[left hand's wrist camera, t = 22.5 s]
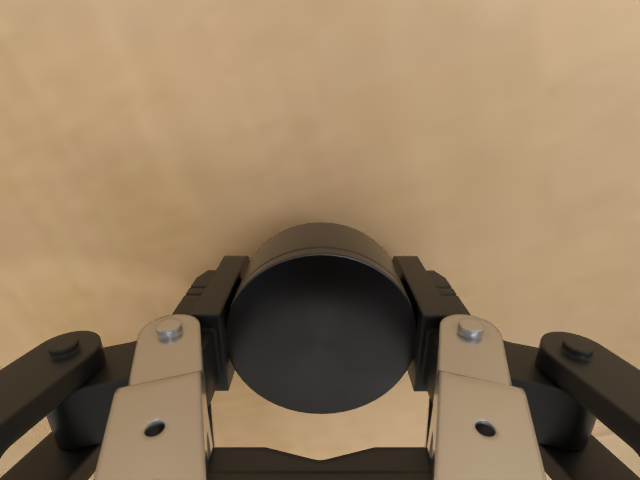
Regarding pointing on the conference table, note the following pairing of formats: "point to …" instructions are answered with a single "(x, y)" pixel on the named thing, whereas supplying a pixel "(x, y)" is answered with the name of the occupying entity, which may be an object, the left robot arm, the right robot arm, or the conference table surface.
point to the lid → (321, 320)
